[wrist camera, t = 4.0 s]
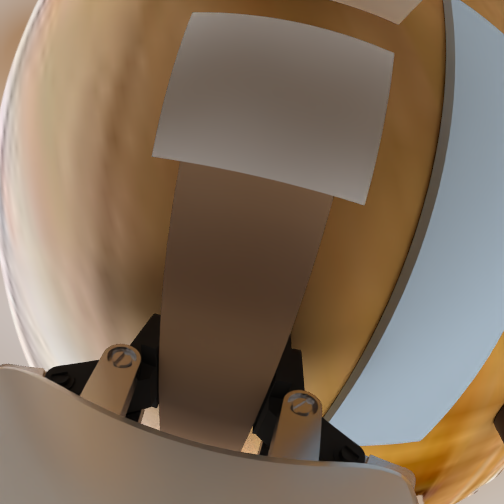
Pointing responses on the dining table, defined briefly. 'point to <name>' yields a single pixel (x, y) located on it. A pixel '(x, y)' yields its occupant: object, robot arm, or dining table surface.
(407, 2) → the tile
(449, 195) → the mat
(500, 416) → the bottle
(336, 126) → the tool
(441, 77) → the dining table surface
